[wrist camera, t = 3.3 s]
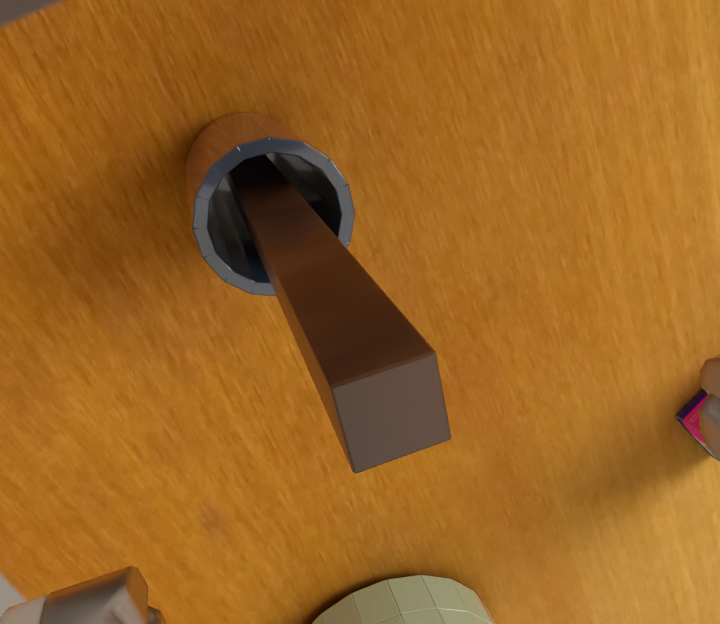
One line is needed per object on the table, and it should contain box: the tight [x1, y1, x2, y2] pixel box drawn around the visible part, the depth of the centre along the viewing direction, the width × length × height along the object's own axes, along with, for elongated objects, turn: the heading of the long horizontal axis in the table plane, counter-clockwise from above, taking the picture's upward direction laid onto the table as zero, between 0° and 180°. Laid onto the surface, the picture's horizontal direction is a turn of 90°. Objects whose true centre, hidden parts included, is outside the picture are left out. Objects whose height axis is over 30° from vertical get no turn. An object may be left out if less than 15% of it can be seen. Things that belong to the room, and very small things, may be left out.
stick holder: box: [185, 112, 355, 296], centre depth 25 cm, size 5×5×8 cm
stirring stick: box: [227, 154, 451, 473], centre depth 19 cm, size 2×2×20 cm
